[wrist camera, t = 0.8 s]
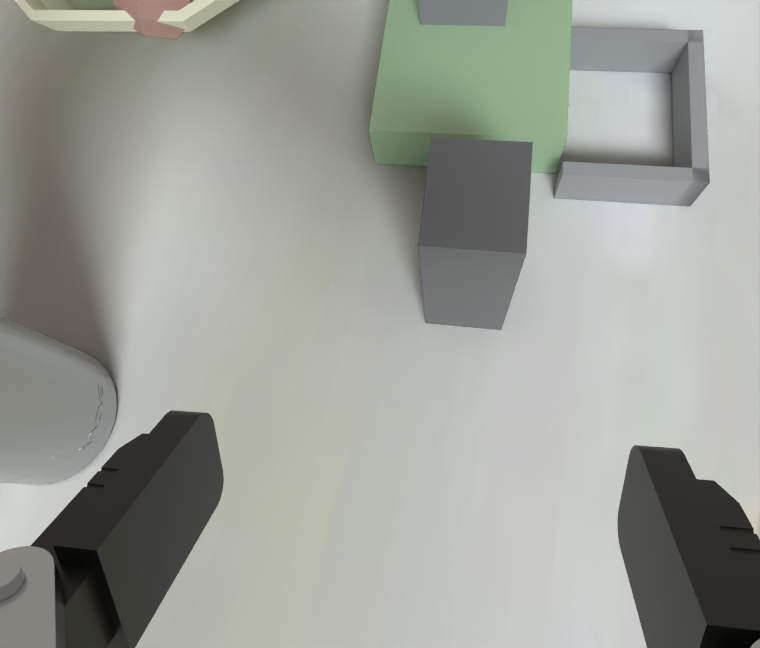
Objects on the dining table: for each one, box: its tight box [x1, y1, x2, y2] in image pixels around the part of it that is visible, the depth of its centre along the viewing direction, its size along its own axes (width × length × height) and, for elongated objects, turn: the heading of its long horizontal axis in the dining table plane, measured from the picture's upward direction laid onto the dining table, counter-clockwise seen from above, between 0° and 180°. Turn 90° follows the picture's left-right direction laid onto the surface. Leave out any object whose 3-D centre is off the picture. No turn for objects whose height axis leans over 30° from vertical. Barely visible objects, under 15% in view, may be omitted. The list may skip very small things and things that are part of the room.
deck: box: [369, 0, 710, 206], centre depth 39 cm, size 22×20×10 cm
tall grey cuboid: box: [418, 137, 533, 330], centre depth 33 cm, size 5×6×12 cm
